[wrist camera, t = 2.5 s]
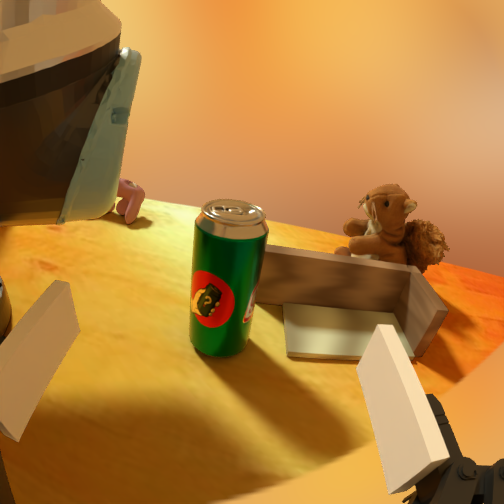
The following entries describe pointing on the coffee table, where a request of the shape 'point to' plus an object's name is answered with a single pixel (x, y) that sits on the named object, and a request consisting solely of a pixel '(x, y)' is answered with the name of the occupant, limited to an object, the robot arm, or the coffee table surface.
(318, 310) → the brown wooden angled piece
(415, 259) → the stuffed squirrel
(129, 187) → the video game controller
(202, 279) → the soda can
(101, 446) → the coffee table surface
